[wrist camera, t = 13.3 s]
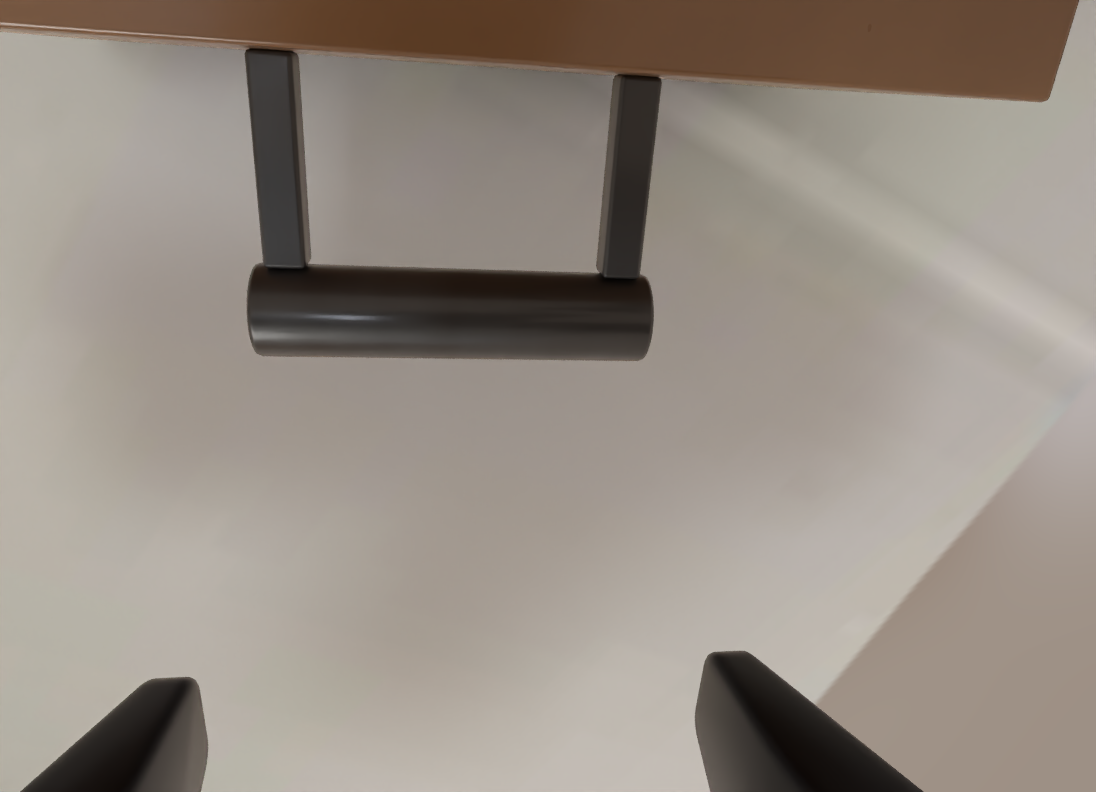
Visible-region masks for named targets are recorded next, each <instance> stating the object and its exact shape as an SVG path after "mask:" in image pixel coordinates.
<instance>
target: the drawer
mask: <svg viewBox="0 0 1096 792" xmlns="http://www.w3.org/2000/svg"><path fill="white" fill-rule="evenodd" d="M1078 2H1079V0H0V32H11V33H23V34H35V35H47V36H59V37H72V38H85V39H99V40H113V41H127V42H142V43H156V44H170V45H184V46H198V47H213V48H227V49H241V50H246V52H245V63H246V74H247V85H248V97H249V108H250V119H251V130H252V142H253V153H254V164H255V176H256V187H257V198H258V210H259V221H260V232H261V243H262V255H263V263H259V264H256V265H255V266H254V267H253V269H252V272H251V275H250V278H249V283H248V290H247V322H248V330H249V335H250V339H251V343H252V345H253V348H254V350H255V352H256V353H257V354H259V355H261V356H287V357H365V358H442V359H520V360H597V361H639V360H641V359H643V358H644V357H645V356H646V354H647V351H648V349H649V346H650V342H651V338H652V332H653V321H654V305H653V296H652V291H651V287H650V283H649V281H648V279H647V278H646V277H645V276H643V275H641V274H640V267H641V259H642V250H643V241H644V233H645V224H646V215H647V206H648V198H649V189H650V180H651V171H652V163H653V154H654V145H655V136H656V128H657V119H658V110H659V101H660V93H661V84H662V82H661V79H668V80H683V81H697V82H711V83H725V84H740V85H754V86H768V87H782V88H800V89H817V90H835V91H852V92H870V93H887V94H905V95H922V96H940V97H957V98H975V99H992V100H1010V101H1028V102H1043V101H1046V100H1048V98H1049V97H1050V94H1051V90H1052V87H1053V84H1054V81H1055V77H1056V74H1057V71H1058V68H1059V64H1060V61H1061V58H1062V55H1063V51H1064V48H1065V45H1066V41H1067V38H1068V35H1069V32H1070V28H1071V25H1072V22H1073V19H1074V15H1075V12H1076V9H1077V6H1078ZM297 53H298V54H312V55H327V56H341V57H355V58H369V59H384V60H398V61H412V62H426V63H441V64H455V65H469V66H483V67H498V68H512V69H526V70H540V71H555V72H569V73H583V74H597V75H611V76H615V77H614V79H613V87H612V98H611V109H610V120H609V131H608V142H607V153H606V164H605V176H604V187H603V198H602V209H601V220H600V231H599V242H598V253H597V264H596V267H597V270H598V271H599V272H600V273H580V272H547V271H514V270H481V269H449V268H416V267H383V266H350V265H317V264H308V263H309V261H310V259H311V247H310V231H309V215H308V199H307V183H306V167H305V151H304V135H303V119H302V103H301V87H300V71H299V57H298V55H297Z"/></svg>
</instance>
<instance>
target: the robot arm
mask: <svg viewBox="0 0 1096 792" xmlns="http://www.w3.org/2000/svg"><path fill="white" fill-rule="evenodd" d="M695 727H696V734H697V738H698V743H699V747H700V751H701V755H702V759H703V763H704V767H705V771H706V775H707V779H708V783H709V788H710V792H923V791H922V790H921V789H919V788H918V787H917V786H916V785H914V784H913V783H912V782H911V781H909V780H908V779H907V778H905V777H904V776H903V775H902V774H901V773H899V772H898V771H897V770H896V769H894V768H893V767H892V766H891V765H889V764H888V763H887V762H886V761H884V760H883V759H882V758H881V757H879V756H878V755H877V754H876V753H874V752H873V751H872V750H871V749H869V748H868V747H867V746H865V745H864V744H863V743H862V742H861V741H859V740H858V739H857V738H856V737H854V736H853V735H852V734H851V733H849V732H848V731H847V730H846V729H844V728H843V727H842V726H841V725H839V724H838V723H837V722H836V721H834V720H833V719H832V718H831V717H829V716H828V715H827V714H826V713H824V712H823V711H822V710H821V709H819V708H818V707H817V706H816V705H814V704H813V703H812V702H811V701H809V700H808V699H807V698H806V697H804V696H803V695H802V694H801V693H799V692H798V691H797V690H796V689H794V688H793V687H792V686H791V685H789V684H788V683H787V682H786V681H784V680H783V679H782V678H781V677H779V676H778V675H777V674H776V673H774V672H773V671H772V670H771V669H769V668H768V667H767V666H766V665H764V664H763V663H762V662H761V661H759V660H758V659H757V658H756V657H754V656H753V655H752V654H750V653H748V652H746V651H724V652H713V653H711V654H709V655H708V656H707V658H706V660H705V663H704V667H703V673H702V678H701V683H700V689H699V694H698V699H697V705H696V710H695ZM207 757H208V739H207V732H206V726H205V719H204V713H203V707H202V701H201V694H200V689H199V686H198V684H197V682H196V680H194V679H193V678H190V677H177V678H156V679H151V680H149V681H147V682H145V683H143V684H142V685H141V686H140V687H138V688H137V689H136V690H135V691H134V692H133V693H132V694H130V695H129V696H128V697H127V698H126V699H125V700H124V701H123V702H121V703H120V704H119V705H118V706H117V707H116V708H115V709H113V710H112V711H111V712H110V713H109V714H108V715H107V716H106V717H104V718H103V719H102V720H101V721H100V722H99V723H98V724H96V725H95V726H94V727H93V728H92V729H91V730H90V731H88V732H87V733H86V734H85V735H84V736H83V737H82V738H81V739H79V740H78V741H77V742H76V743H75V744H74V745H73V746H71V747H70V748H69V749H68V750H67V751H66V752H65V753H64V754H62V755H61V756H60V757H59V758H58V759H57V760H56V761H54V762H53V763H52V764H51V765H50V766H49V767H48V768H47V769H45V770H44V771H43V772H42V773H41V774H40V775H39V776H37V777H36V778H35V779H34V780H33V781H32V782H31V783H29V784H28V785H27V786H26V787H25V788H24V789H23V790H22V791H20V792H201V788H202V783H203V779H204V774H205V770H206V764H207Z"/></svg>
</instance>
